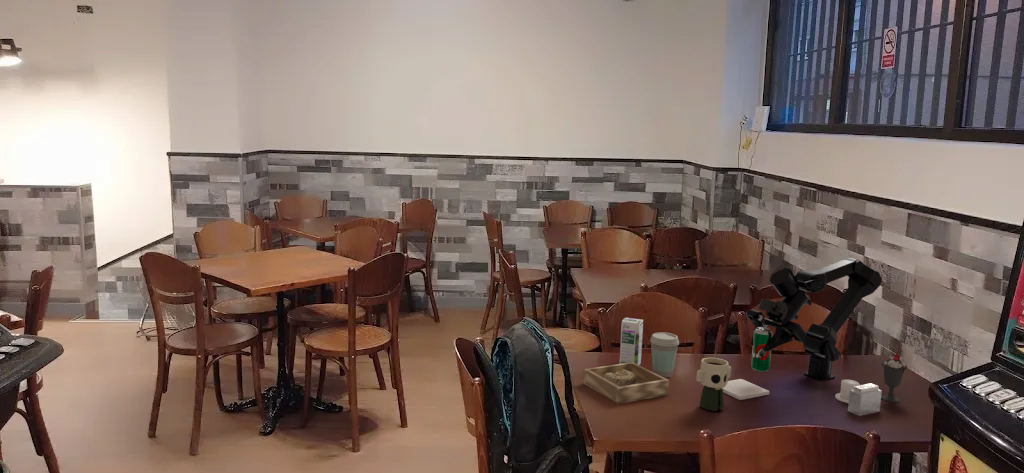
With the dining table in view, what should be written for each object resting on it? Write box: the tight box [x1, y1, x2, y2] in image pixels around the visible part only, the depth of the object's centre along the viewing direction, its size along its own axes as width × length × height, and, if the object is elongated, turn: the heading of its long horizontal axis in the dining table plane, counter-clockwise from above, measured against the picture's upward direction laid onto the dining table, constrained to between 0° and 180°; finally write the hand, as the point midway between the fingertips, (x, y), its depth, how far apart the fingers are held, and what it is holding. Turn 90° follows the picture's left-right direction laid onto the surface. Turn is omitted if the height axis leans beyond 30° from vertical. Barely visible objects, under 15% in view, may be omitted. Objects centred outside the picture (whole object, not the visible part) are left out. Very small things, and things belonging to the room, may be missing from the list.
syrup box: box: [618, 317, 644, 366], centre depth 235 cm, size 6×6×14 cm
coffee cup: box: [650, 332, 680, 379], centre depth 227 cm, size 8×8×12 cm
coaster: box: [722, 378, 770, 401], centre depth 216 cm, size 11×11×1 cm
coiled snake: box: [604, 368, 637, 387], centre depth 215 cm, size 10×10×5 cm
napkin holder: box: [847, 382, 883, 417], centre depth 203 cm, size 8×4×7 cm, turn 117°
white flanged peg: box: [834, 379, 860, 404], centre depth 212 cm, size 7×7×5 cm
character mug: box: [696, 357, 732, 412], centre depth 201 cm, size 11×7×13 cm, turn 113°
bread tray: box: [583, 362, 670, 405], centre depth 214 cm, size 17×17×4 cm
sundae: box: [880, 349, 908, 404], centre depth 212 cm, size 7×7×15 cm
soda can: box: [750, 327, 773, 373], centre depth 218 cm, size 5×5×12 cm
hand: (758, 347), depth 217 cm, fingers closed on soda can, 5 cm apart
